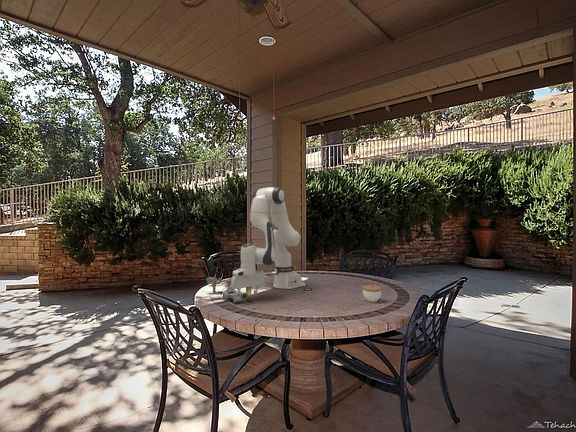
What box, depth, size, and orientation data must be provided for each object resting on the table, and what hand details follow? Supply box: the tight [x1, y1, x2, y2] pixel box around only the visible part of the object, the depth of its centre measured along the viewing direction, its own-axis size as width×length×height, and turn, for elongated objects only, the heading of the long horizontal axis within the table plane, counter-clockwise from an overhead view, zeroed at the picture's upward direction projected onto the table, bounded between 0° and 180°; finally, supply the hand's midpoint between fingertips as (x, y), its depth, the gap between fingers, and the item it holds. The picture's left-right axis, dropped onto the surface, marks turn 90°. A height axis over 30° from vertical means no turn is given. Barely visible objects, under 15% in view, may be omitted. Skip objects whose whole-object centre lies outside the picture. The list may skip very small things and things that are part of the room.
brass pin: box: [245, 287, 252, 302], centre depth 198 cm, size 3×3×8 cm
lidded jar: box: [362, 284, 382, 303], centre depth 196 cm, size 11×11×9 cm
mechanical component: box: [205, 276, 223, 295], centre depth 215 cm, size 3×10×10 cm, turn 79°
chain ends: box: [222, 289, 246, 305], centre depth 200 cm, size 16×16×4 cm
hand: (248, 294), depth 198 cm, fingers open, 8 cm apart
